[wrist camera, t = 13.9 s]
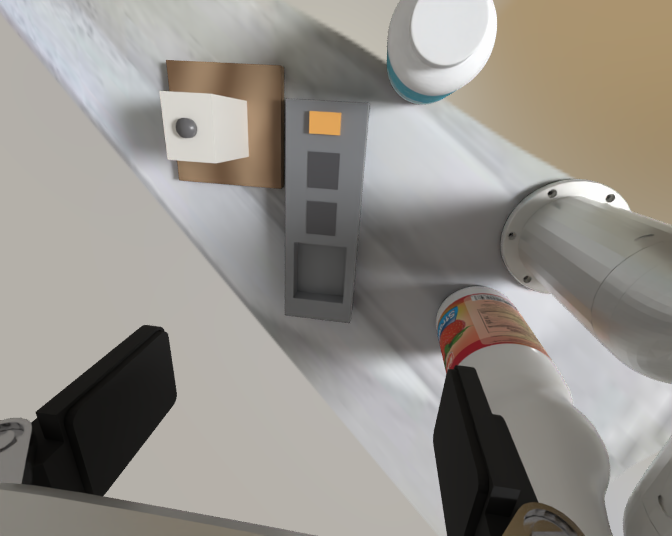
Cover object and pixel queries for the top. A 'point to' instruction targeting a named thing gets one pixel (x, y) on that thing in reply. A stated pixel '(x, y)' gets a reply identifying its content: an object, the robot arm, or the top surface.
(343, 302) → the power strip
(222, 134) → the block
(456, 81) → the pill bottle
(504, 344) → the fruit juice
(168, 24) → the top surface
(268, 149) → the walnut mat
